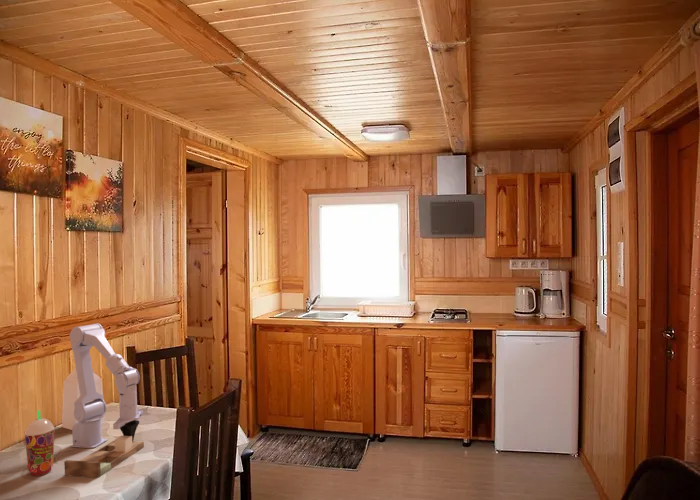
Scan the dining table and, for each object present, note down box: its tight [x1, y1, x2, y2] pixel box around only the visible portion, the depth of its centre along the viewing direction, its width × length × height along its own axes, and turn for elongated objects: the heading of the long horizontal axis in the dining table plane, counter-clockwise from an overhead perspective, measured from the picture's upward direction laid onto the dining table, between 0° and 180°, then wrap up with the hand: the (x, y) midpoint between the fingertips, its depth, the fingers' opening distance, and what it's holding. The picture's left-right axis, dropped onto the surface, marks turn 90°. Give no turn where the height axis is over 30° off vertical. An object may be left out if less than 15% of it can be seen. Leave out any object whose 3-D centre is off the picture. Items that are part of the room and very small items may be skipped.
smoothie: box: [23, 409, 56, 477], centre depth 164 cm, size 8×8×20 cm
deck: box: [63, 440, 145, 478], centre depth 171 cm, size 12×24×4 cm, turn 170°
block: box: [114, 435, 132, 452], centre depth 176 cm, size 4×4×4 cm
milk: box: [61, 366, 107, 431], centre depth 209 cm, size 12×12×26 cm
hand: (129, 442), depth 179 cm, fingers closed
